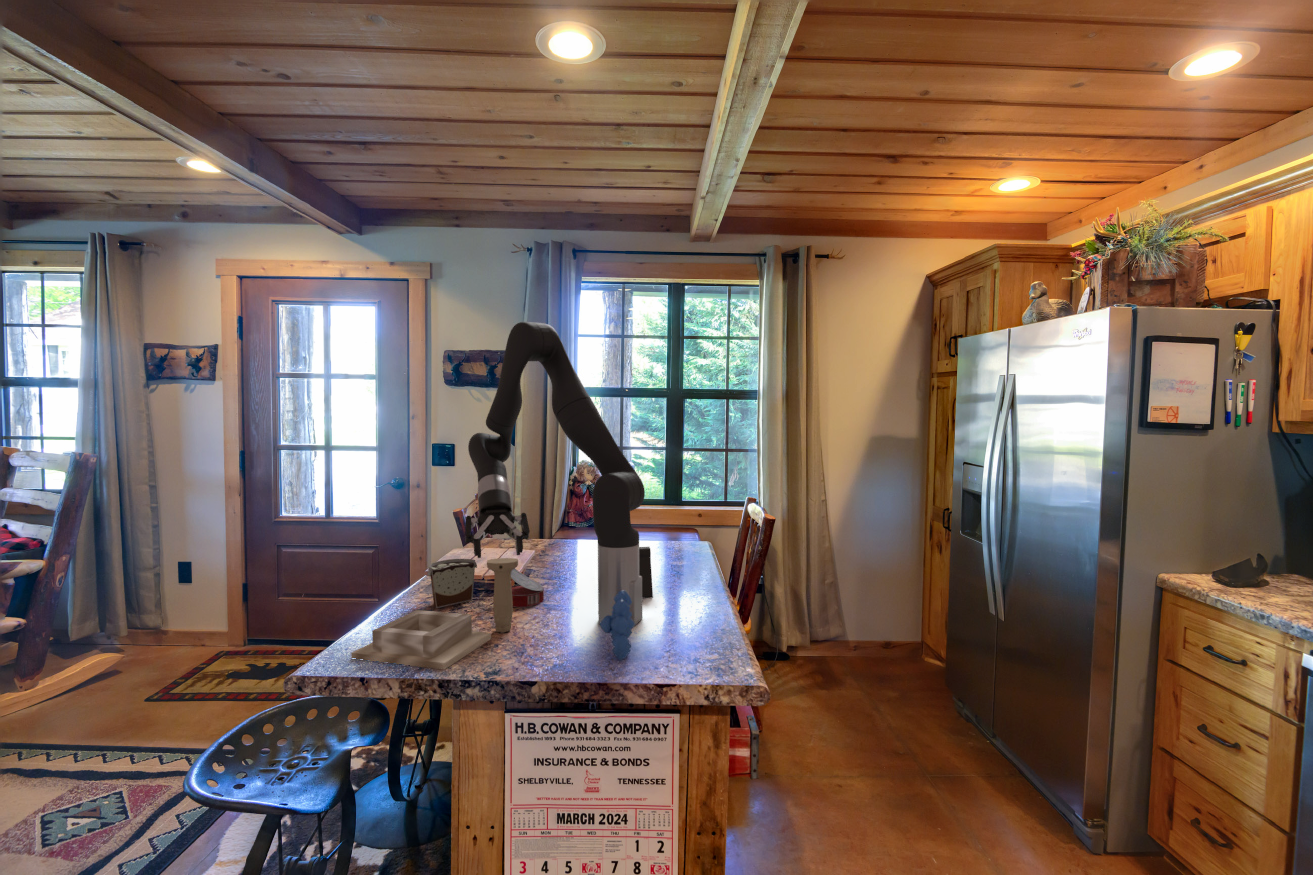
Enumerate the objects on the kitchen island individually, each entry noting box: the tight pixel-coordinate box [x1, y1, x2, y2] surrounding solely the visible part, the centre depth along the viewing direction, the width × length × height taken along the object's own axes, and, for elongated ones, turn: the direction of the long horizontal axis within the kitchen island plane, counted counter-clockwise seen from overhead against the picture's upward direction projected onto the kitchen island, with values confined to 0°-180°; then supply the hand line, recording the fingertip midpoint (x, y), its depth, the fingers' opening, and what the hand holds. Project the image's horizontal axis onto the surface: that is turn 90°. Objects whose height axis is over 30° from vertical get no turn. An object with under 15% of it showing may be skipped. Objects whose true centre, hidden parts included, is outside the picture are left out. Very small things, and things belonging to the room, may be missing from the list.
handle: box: [486, 557, 519, 634], centre depth 128 cm, size 5×6×15 cm
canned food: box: [511, 568, 545, 608], centre depth 150 cm, size 11×10×10 cm
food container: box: [427, 558, 478, 609], centre depth 149 cm, size 12×6×10 cm, turn 135°
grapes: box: [599, 590, 636, 661], centre depth 114 cm, size 12×7×12 cm, turn 179°
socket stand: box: [350, 609, 492, 671], centre depth 118 cm, size 20×16×5 cm
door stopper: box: [639, 546, 654, 598], centre depth 156 cm, size 9×6×12 cm, turn 10°
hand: (499, 554), depth 134 cm, fingers open, 8 cm apart
